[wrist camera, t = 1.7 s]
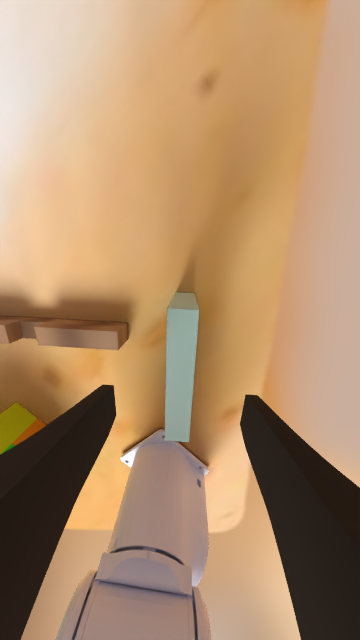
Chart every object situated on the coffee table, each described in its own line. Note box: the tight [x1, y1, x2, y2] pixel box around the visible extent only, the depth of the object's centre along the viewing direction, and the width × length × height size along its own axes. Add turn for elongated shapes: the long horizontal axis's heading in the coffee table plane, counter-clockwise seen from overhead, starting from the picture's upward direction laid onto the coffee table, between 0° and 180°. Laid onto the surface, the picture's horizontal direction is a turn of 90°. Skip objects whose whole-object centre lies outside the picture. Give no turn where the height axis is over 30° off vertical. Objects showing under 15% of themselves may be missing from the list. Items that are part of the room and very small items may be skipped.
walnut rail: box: [0, 316, 128, 350], centre depth 16 cm, size 18×2×3 cm, turn 88°
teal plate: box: [165, 292, 199, 442], centre depth 14 cm, size 10×2×7 cm, turn 178°
